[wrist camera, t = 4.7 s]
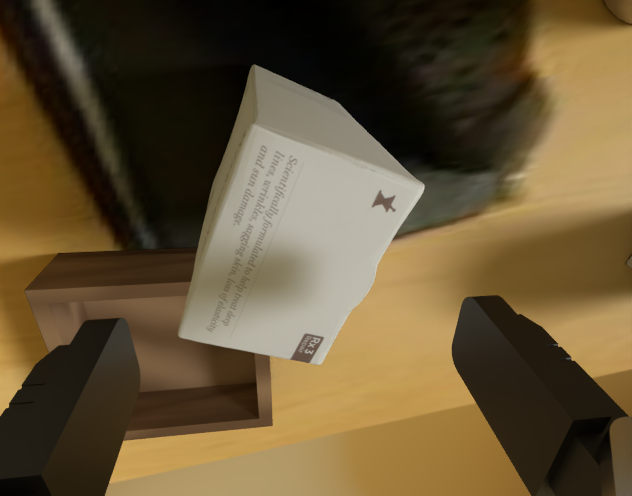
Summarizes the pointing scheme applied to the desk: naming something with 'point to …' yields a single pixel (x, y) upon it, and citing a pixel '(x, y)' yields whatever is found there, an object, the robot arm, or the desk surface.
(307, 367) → the desk surface
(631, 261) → the coffee box
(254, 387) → the tray
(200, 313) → the skincare box
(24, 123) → the desk surface
